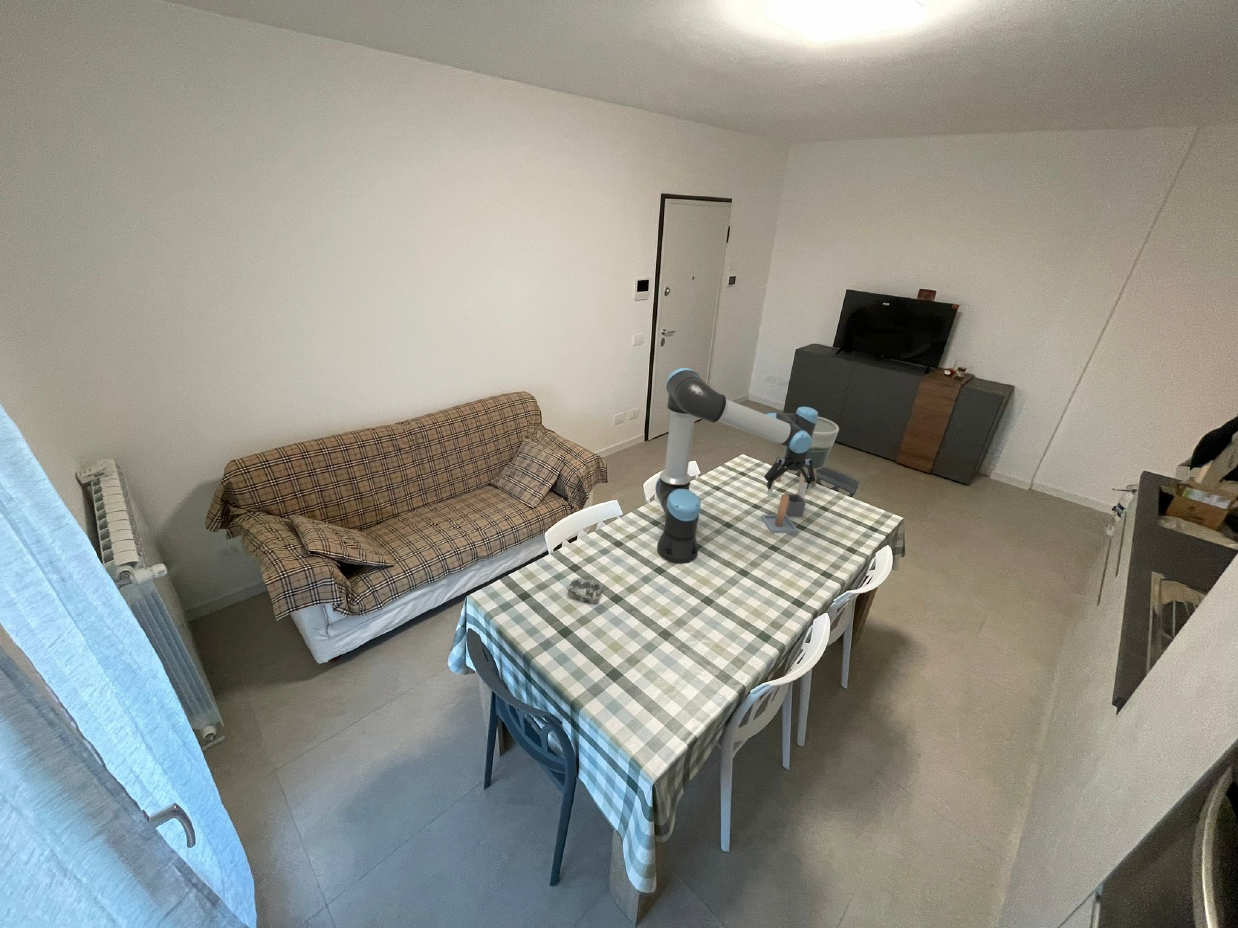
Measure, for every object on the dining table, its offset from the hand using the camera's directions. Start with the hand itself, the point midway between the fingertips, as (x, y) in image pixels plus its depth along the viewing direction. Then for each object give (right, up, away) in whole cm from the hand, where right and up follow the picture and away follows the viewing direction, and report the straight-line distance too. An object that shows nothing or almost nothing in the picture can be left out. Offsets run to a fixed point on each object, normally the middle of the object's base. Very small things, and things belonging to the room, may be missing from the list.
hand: (785, 495), depth 197 cm
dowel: (-1, -12, +6) cm, 14 cm away
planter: (+18, +1, +37) cm, 41 cm away
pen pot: (+8, -9, +16) cm, 20 cm away
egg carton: (-77, -30, -36) cm, 90 cm away
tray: (-1, -13, +7) cm, 15 cm away
